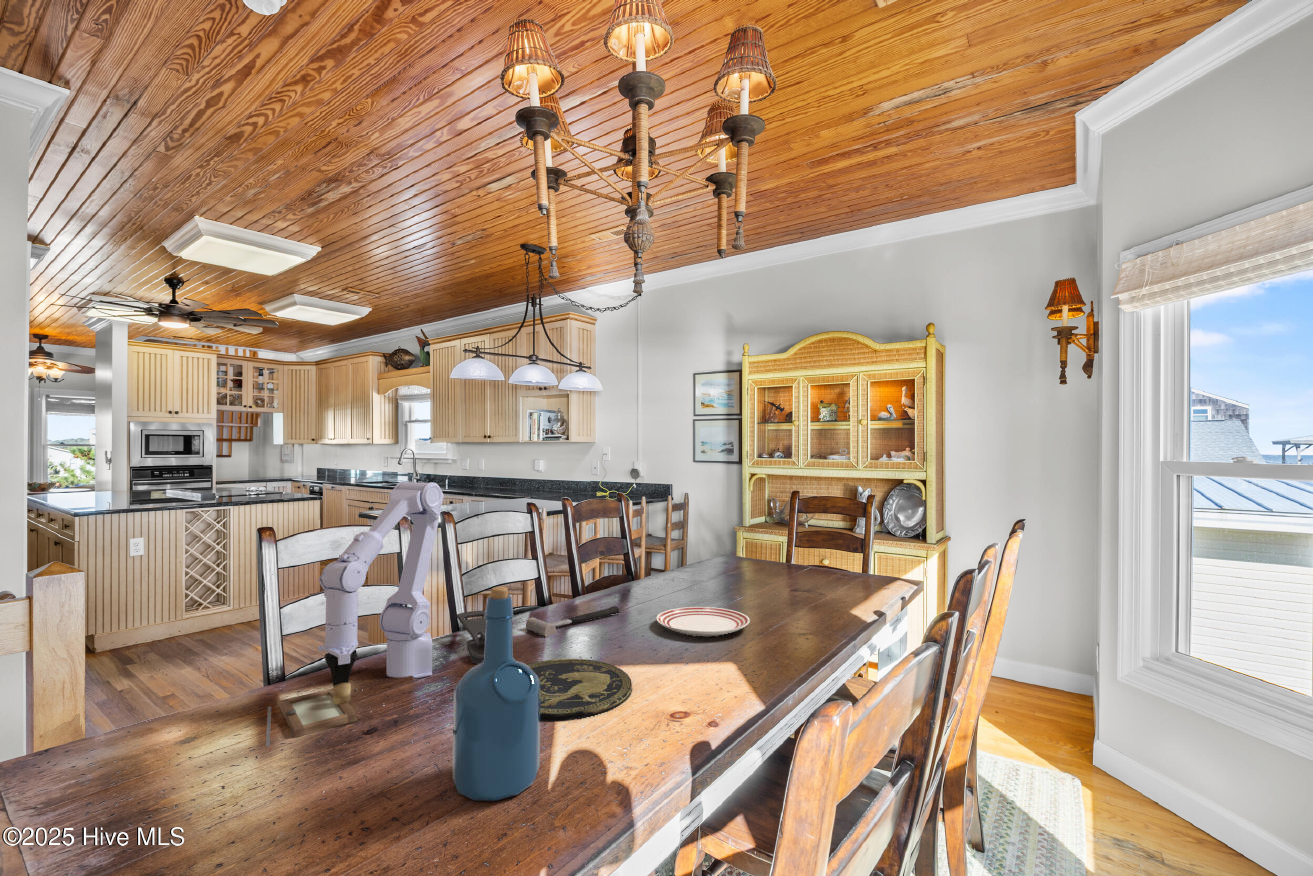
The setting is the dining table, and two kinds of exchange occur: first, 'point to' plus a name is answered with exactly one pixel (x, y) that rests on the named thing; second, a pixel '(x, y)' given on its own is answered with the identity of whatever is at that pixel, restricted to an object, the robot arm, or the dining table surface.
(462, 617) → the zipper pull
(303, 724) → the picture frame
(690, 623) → the dinner plate
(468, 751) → the wine bottle
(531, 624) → the rubber mallet
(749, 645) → the dining table surface
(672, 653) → the dining table surface
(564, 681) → the decorative plate
